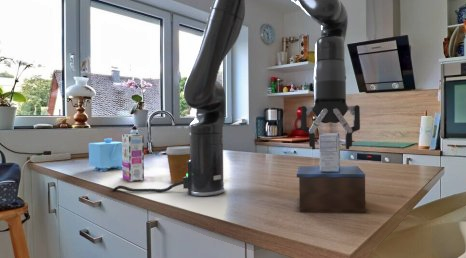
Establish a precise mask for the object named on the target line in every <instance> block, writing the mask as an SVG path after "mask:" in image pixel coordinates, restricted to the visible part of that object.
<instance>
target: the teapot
mask: <svg viewBox="0 0 466 258" xmlns="http://www.w3.org/2000/svg"><path fill="white" fill-rule="evenodd" d="M88 166H90V167H93V168H94V169H93V170H94V171H99V172H108V168H110V169H116V170H122V141H113V138H111V137H110V138H104V140H103V141H102V142H101V141H100V142H88Z"/></svg>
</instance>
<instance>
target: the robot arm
mask: <svg viewBox="0 0 466 258" xmlns="http://www.w3.org/2000/svg"><path fill="white" fill-rule="evenodd" d="M291 2H293V3H294V4H295V5H297V6H298V7H300V8H301V9H302V10H303V11H304V12H305V13H306V15H308V16H309V18H311V19H312V20H313V21H314V22H316V23H317V24H318V25H320V28H321V31H320V36H319V37H318V38H317V39H316V41H315V43H314V70H313V85H314V86H313V96H314V98H313V99H314V100H313V101H314V103H313V106H305V105H303V106H302V107H301V110H300V111H301V115H300V116H301V117H300V119H301V120H300V123H301V124H300V128H301V129H300V130H302V132H306V133H307V134H308V138H309V139H308V145H309V147H310V148H311V149H312V150H316V133H315V131H316V130H317V129H318V127H319V125H320V124H321V123H322V124H329V123H331V124H338V123H339V124H340V126H342V128H343V129H344V130H345V135H344V137H345V149H346V150H350V148H351V147H352V146H353V133H355V132H357V131H360V130H361V112H360V109H361V108H360V105H358V104H356V105H348V104H347V82H346V80H347V74H346V73H347V72H346V71H347V70H346V65H345V63H346V62H345V42H346V41H345V40H346V36H347V31H348V24H349V23H348V22H349V18H348V17H349V16H348V14H349V13H348V10H347V7H346V5H345V4H344V3H343V2H342V1H341V0H291ZM245 17H246V1H245V0H213V1H212V4H211V7H210V10H209V13H208V17H207V20H206V23H205V24H206V25H205V28H204V31H203V35H202V38H201V41H200V44H199V48H198V51H197V54H196V56H195V60H194V62H193V64H192V67H191V69H190V72H189V74H188V76H187V79H186V81H185V84H184V87H183V99H184V101H185V103H186V105H187V106H188V107H189V108H191V109H195V110H196V112H195V118H194V120H193V121H192V122H191V123H190V124H189V146H190V160H189V161H188V162H187V172H188V174H187V176H186V177H184V178H183V181H180V182H177V183H171V184H170V185H169V186H168V187H166V188H132V187H129V186H126V185H117V186H115V187H114V188H112V190H111V192H113V193H114V192H116V191H117V190H120V189H122V190H125V191H128V192H131V193H165V192H168V191H171V190H172V189H173V188H175V187H178V186H181V185H182V186H183V187H182V189H183V190H187V195H189V196H196V197H210V196H216V195H220V194H223V193H224V191H225V187H224V186H225V184H224V182H225V181H224V135H223V132H224V131H223V129H224V126H225V121H226V92H225V89H224V88H225V87H224V86H223V84H222V83H221V82H219V81H218V80H217V78H218V75H219V71H220V69H221V65H222V63H223V61H224V59H225V58H226V57H227V56H228V54H229V52H230V51H231V50H232V48H234V46H235V45H236V43H237V41H238V39H239V36H240V34H241V30H242V28H243V24H244V20H245ZM348 111H349V113H350V115H351V116H353V117H352V119H353V120H352V123H353V126H350V124H349V123H348V121H347V120H346V119H345V117H344V116H345V115H346V113H348ZM311 112H313V114H314V115H315V116H316V119H315V120H314V122H313V123H312V125H311V127H309V126H308V123H307V122H308V121H307V120H308V116H310V114H311Z"/></svg>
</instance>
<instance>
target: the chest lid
mask: <svg viewBox="0 0 466 258" xmlns="http://www.w3.org/2000/svg"><path fill="white" fill-rule="evenodd" d="M299 177H363V178H365V179H366V173H365V172H364V171H363V170H362V169H361V168H360V167H359V166H358V165H340V168H339V172H321V171H320V165H299V166H298V169H297V172H296V178H299Z"/></svg>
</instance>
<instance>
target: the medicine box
mask: <svg viewBox="0 0 466 258" xmlns="http://www.w3.org/2000/svg"><path fill="white" fill-rule="evenodd" d="M318 148H319V149H318V150H319V152H318V153H319V166H320V171H321V172H339V168H340V166H341V155H340V153H341V152H340V151H341V150H340V148H341V147H340V133H337V132H336V133H334V132H333V133H331V132H329V133H322V134H320V135H319V136H318Z"/></svg>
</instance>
